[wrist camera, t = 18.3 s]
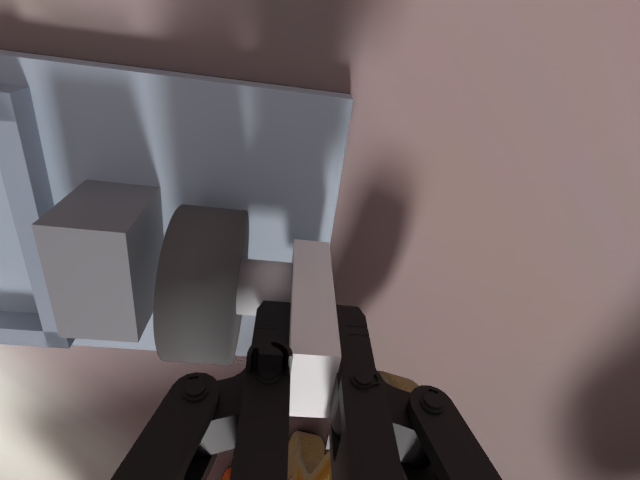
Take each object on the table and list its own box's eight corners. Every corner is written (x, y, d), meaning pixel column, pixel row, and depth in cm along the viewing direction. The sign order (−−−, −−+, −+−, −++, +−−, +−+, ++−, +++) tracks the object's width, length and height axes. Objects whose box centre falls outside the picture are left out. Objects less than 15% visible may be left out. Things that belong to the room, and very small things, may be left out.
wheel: (298, 191, 18) (297, 270, 12) (286, 302, 21) (281, 403, 15) (193, 180, 17) (146, 257, 12) (196, 295, 20) (159, 396, 15)
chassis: (350, 94, 17) (367, 126, 12) (310, 347, 24) (312, 424, 19) (-322, 8, 15) (-586, 11, 10) (-151, 315, 21) (-265, 395, 17)
